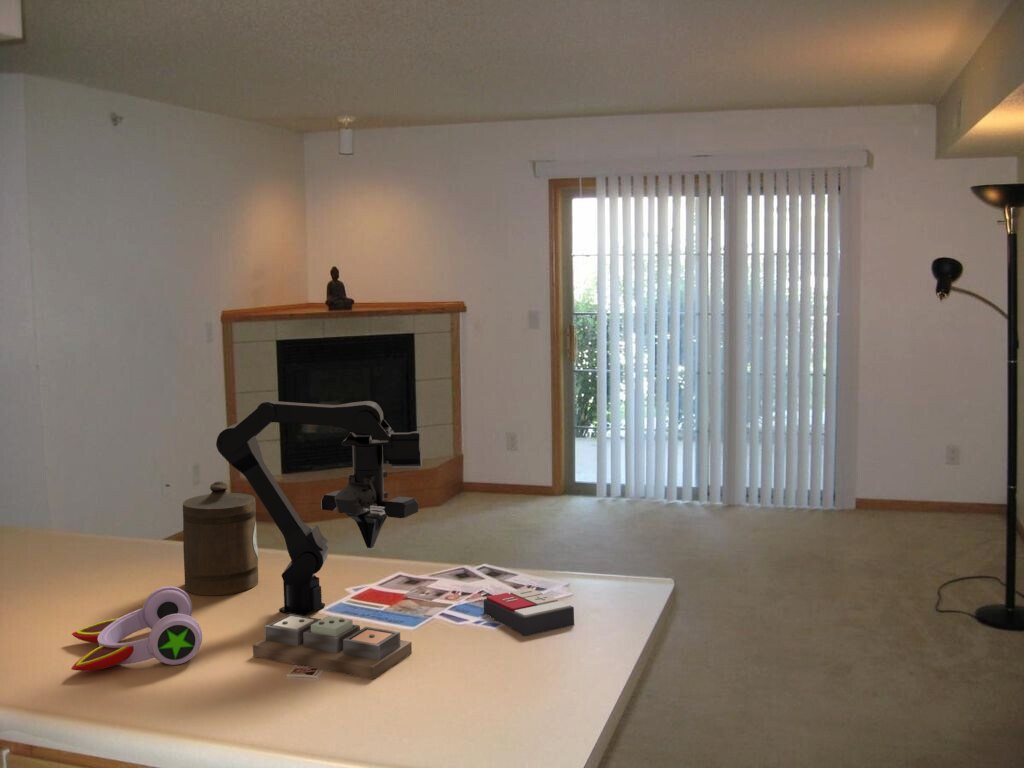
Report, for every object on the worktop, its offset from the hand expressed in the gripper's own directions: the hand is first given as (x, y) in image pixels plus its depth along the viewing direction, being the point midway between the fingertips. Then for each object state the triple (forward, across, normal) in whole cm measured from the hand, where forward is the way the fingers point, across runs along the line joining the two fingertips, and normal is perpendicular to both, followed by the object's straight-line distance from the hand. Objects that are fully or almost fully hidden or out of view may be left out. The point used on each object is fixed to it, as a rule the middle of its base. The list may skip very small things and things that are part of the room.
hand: (370, 547), depth 192 cm
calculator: (+13, +30, +7) cm, 33 cm away
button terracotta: (+10, +15, -23) cm, 29 cm away
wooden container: (+12, -37, 0) cm, 39 cm away
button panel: (+12, +7, -23) cm, 27 cm away
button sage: (+8, +7, -23) cm, 25 cm away
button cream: (+9, -1, -23) cm, 25 cm away
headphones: (+12, -25, -35) cm, 45 cm away
